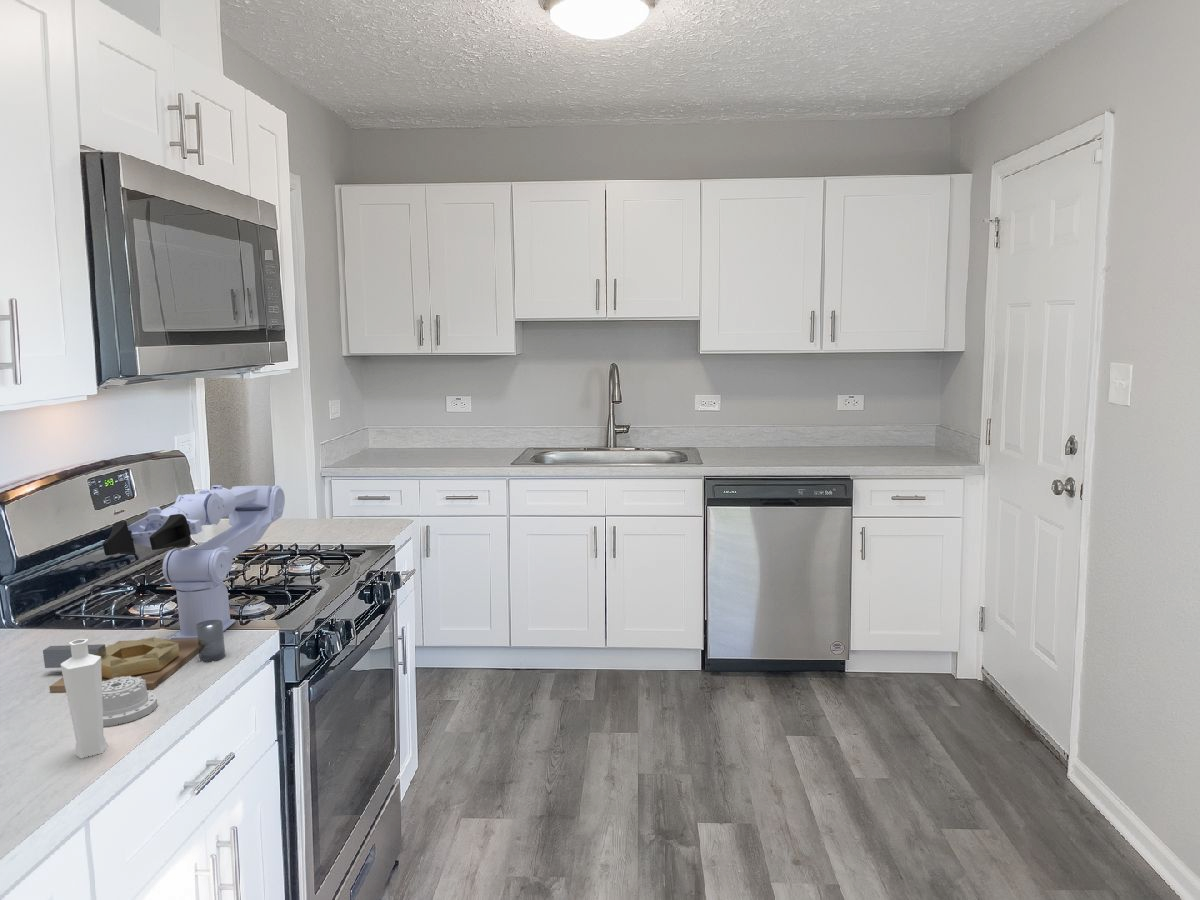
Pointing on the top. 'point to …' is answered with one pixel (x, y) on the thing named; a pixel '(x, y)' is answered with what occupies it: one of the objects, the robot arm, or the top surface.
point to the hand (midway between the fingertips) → (129, 546)
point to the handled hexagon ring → (121, 656)
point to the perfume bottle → (85, 698)
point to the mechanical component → (126, 700)
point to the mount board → (154, 678)
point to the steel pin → (210, 640)
